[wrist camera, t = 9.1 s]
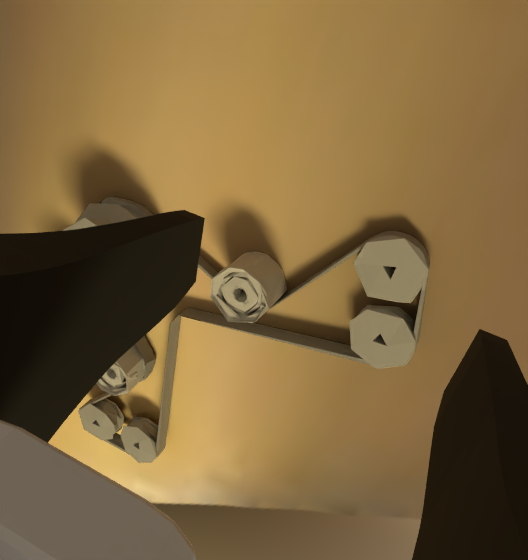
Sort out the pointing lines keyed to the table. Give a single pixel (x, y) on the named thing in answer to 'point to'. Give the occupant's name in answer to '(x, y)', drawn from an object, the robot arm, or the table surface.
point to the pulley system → (249, 308)
